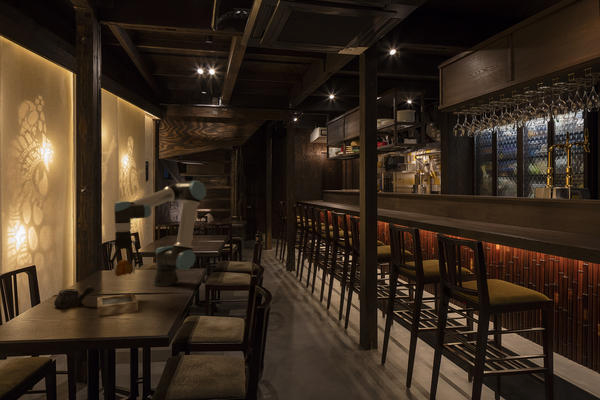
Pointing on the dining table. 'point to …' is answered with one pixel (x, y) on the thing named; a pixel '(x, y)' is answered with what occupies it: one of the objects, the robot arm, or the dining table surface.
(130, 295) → the plinth
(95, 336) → the dining table surface
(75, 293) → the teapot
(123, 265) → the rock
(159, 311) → the dining table surface
